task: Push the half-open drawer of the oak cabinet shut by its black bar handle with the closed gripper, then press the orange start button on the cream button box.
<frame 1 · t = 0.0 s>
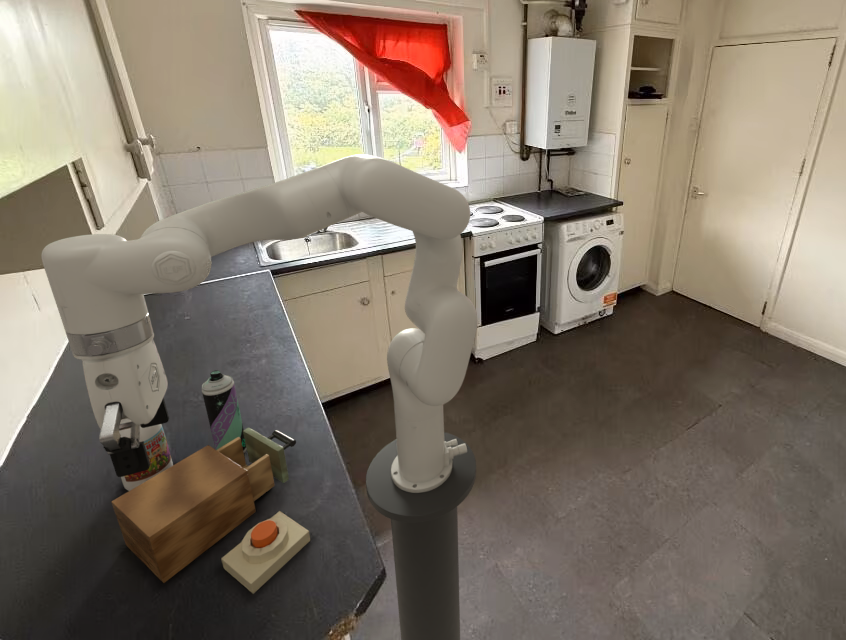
hand: (145, 446, 57), 27 cm above the counter, tool pointing down, fingers open, 9 cm apart
button box: (268, 554, 70), on the counter
spray can: (232, 452, 92), on the counter
cabinet: (194, 527, 75), on the counter
start button: (264, 533, 69), point 4 cm above the counter, slide at 0.1 cm
milk bottle: (150, 478, 85), on the counter
drawer: (245, 468, 81), point 5 cm above the counter, slide at 6.0 cm
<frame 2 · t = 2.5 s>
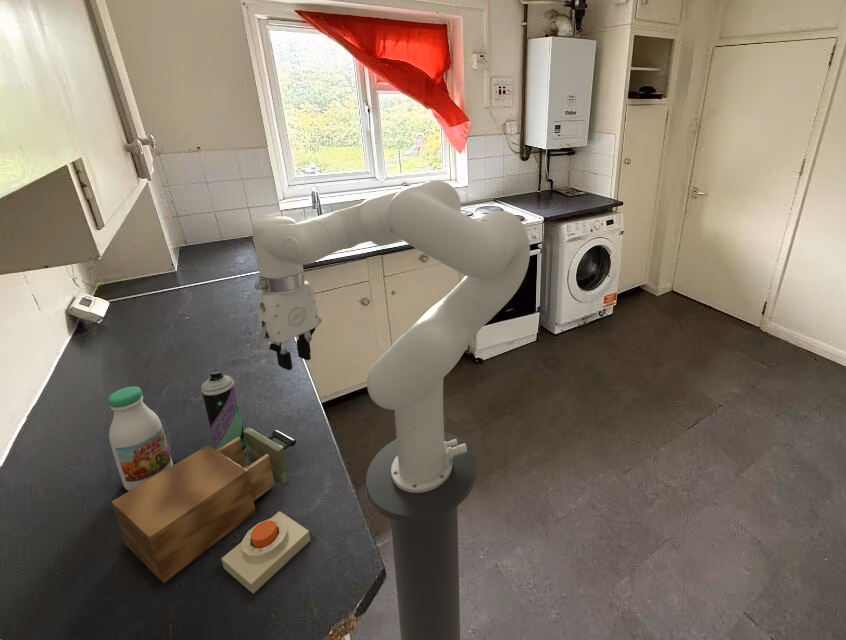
hand: (295, 362, 88), 21 cm above the counter, tool pointing down, fingers open, 3 cm apart
nothing on the counter moved.
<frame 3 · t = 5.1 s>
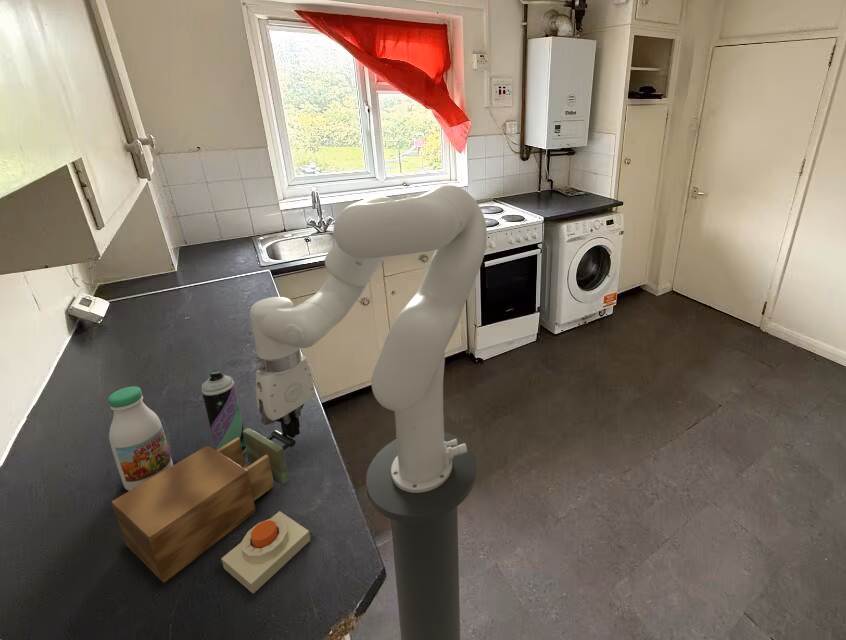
hand: (291, 433, 90), 5 cm above the counter, tool pointing down, fingers closed
drawer: (244, 468, 81), point 5 cm above the counter, slide at 5.9 cm, touching gripper
everything else where it was.
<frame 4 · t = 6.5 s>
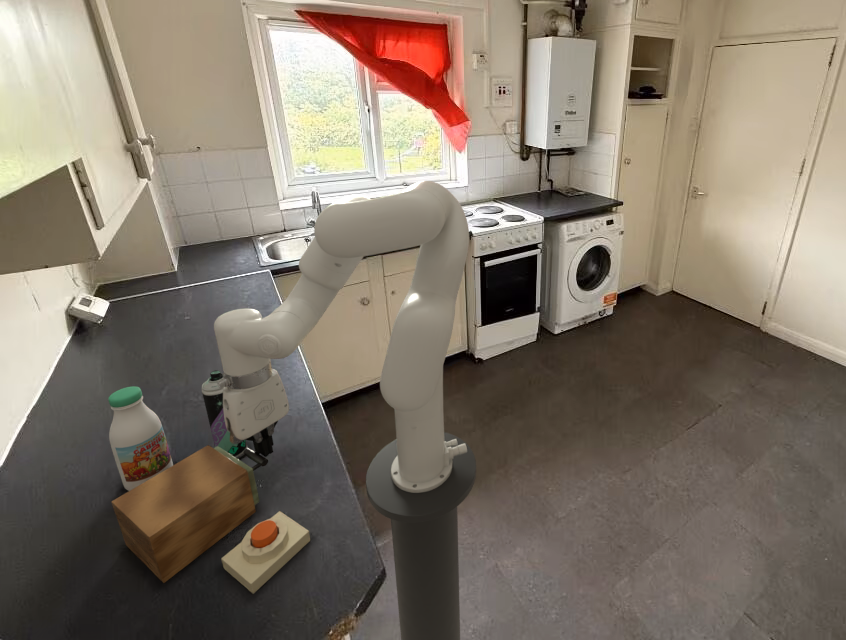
hand: (265, 452, 85), 5 cm above the counter, tool pointing down, fingers closed
drawer: (212, 490, 76), point 5 cm above the counter, slide at 0.0 cm, touching cabinet, gripper
everything else where it was.
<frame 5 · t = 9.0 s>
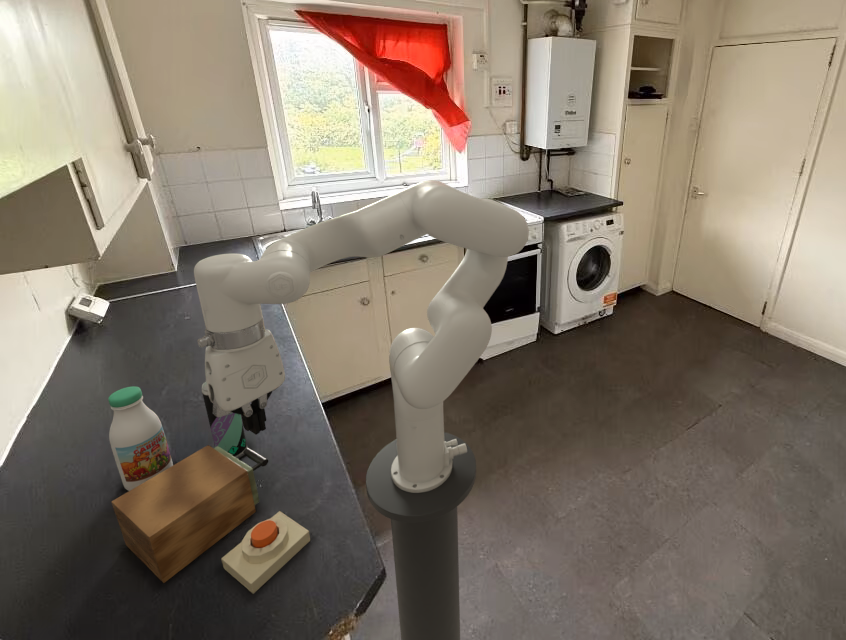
hand: (256, 428, 72), 19 cm above the counter, tool pointing down, fingers closed
drawer: (212, 490, 76), point 5 cm above the counter, slide at 0.0 cm, touching cabinet
everything else where it was.
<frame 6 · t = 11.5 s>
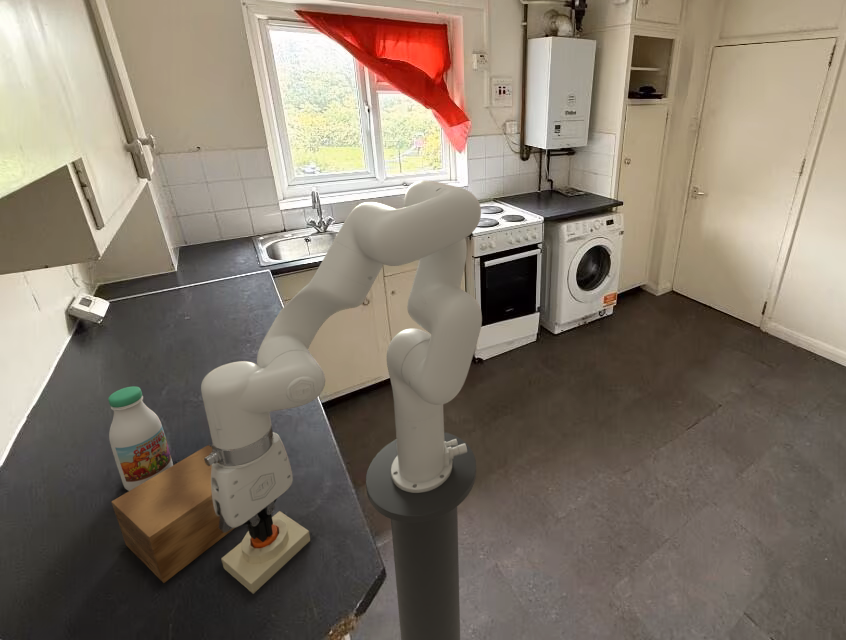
hand: (262, 534, 69), 5 cm above the counter, tool pointing down, fingers closed
start button: (265, 537, 69), point 4 cm above the counter, slide at -0.7 cm, touching gripper
everything else where it was.
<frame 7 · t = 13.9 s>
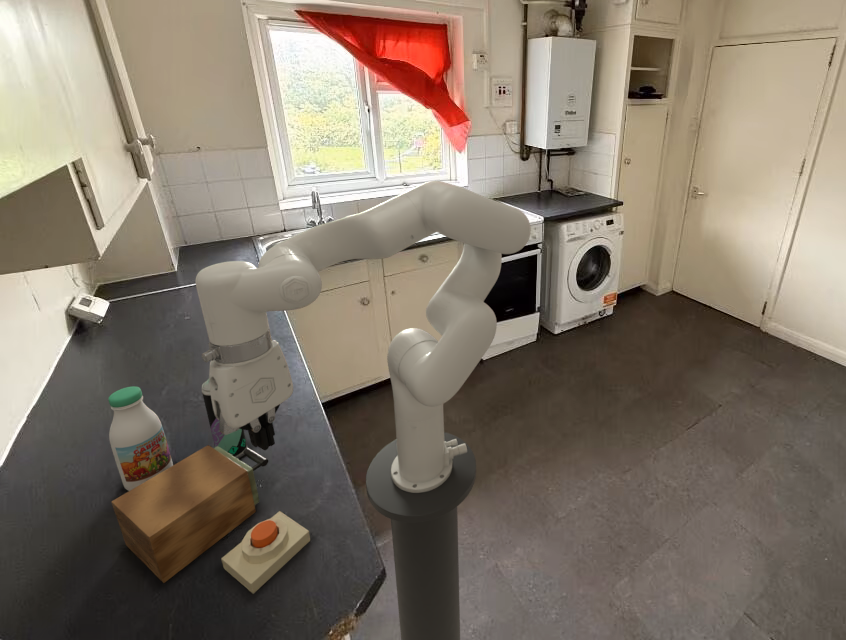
hand: (264, 444, 68), 19 cm above the counter, tool pointing down, fingers closed
start button: (264, 533, 69), point 4 cm above the counter, slide at 0.1 cm
everything else where it was.
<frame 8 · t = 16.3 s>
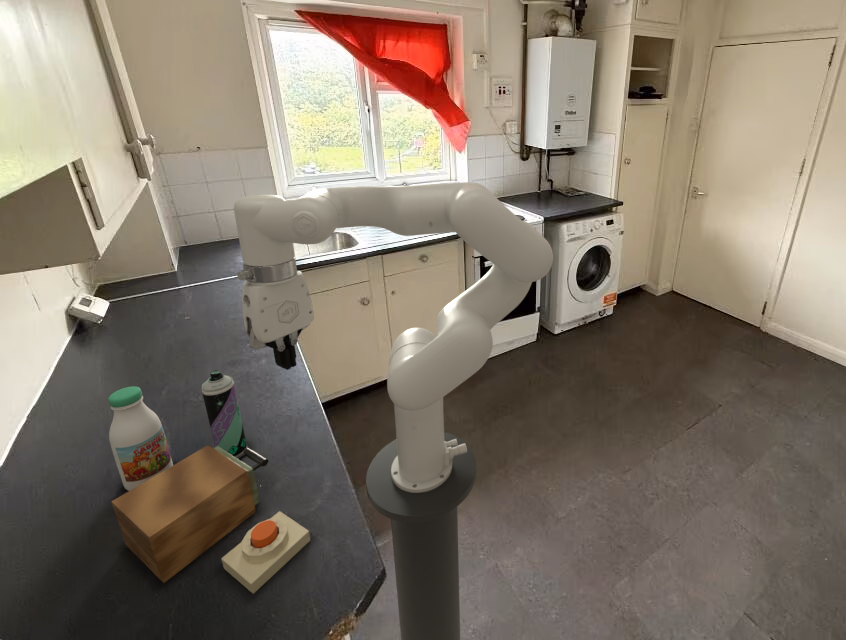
hand: (286, 365, 76), 27 cm above the counter, tool pointing down, fingers closed
nothing on the counter moved.
at the end: drawer slide at 0.0 cm; start button pushed in 1.1 cm at the most during the clip, back to where it started at the end; start button slide at 0.1 cm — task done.
